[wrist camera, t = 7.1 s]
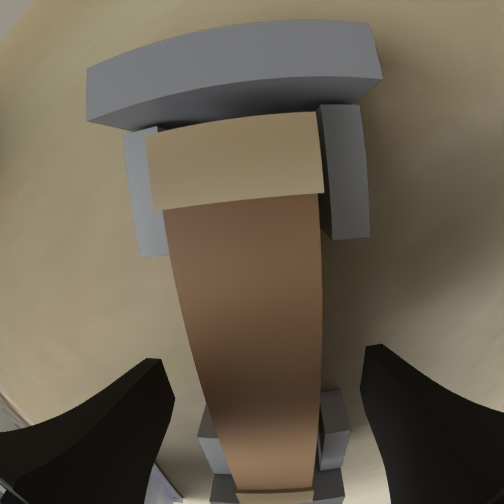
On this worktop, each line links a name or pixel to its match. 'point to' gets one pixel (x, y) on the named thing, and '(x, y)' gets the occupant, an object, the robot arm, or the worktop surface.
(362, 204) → the post slots
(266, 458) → the rail
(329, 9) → the worktop surface
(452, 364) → the worktop surface
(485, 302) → the worktop surface
